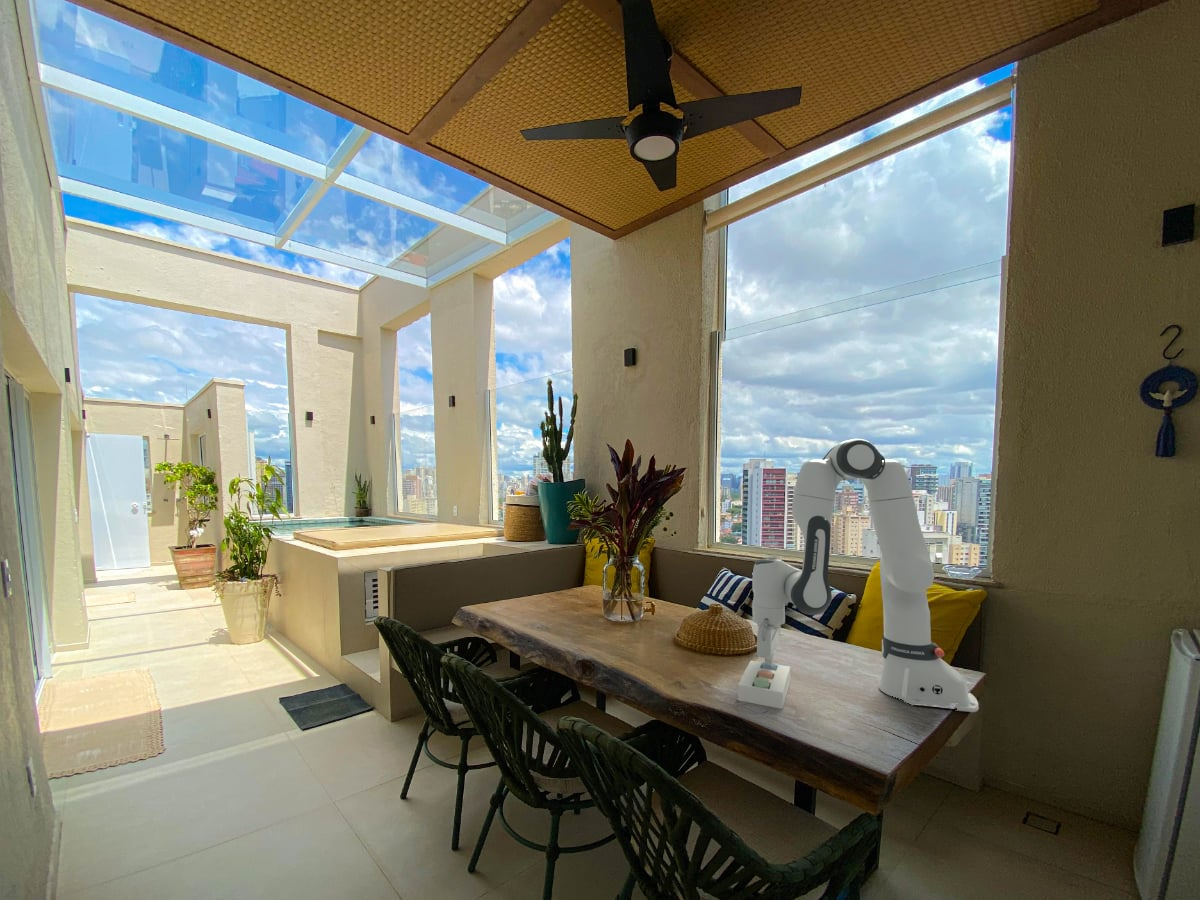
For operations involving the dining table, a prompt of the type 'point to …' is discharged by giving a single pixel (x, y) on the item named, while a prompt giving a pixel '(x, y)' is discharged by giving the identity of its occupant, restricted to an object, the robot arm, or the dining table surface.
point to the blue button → (769, 667)
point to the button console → (762, 695)
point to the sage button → (761, 682)
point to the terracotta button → (765, 674)
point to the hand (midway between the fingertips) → (768, 664)
